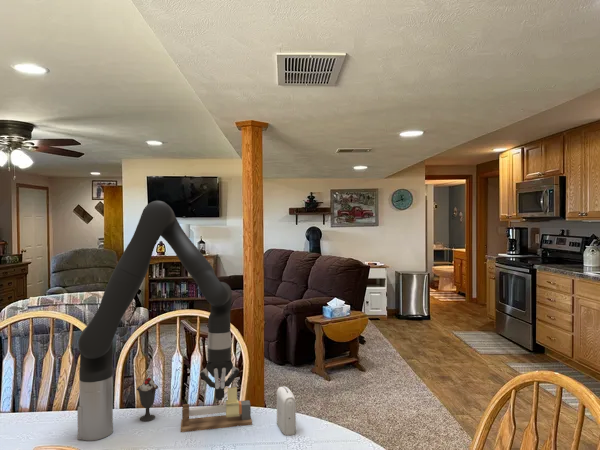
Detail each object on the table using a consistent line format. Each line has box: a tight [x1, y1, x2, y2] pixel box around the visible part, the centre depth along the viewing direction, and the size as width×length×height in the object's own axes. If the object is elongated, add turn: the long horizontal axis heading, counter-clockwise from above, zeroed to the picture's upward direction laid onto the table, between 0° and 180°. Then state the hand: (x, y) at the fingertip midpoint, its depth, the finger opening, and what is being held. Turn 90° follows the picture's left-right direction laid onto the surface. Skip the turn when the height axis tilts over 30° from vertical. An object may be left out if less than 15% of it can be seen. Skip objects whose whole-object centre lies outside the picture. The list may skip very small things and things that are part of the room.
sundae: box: [136, 374, 159, 422], centre depth 147 cm, size 7×7×15 cm
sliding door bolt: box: [189, 399, 252, 420], centre depth 142 cm, size 21×4×5 cm, turn 103°
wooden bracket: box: [180, 403, 253, 433], centre depth 142 cm, size 22×7×6 cm, turn 103°
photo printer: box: [276, 385, 297, 436], centre depth 138 cm, size 10×4×12 cm, turn 17°
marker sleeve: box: [225, 386, 240, 417], centre depth 143 cm, size 4×4×8 cm
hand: (219, 399), depth 142 cm, fingers closed
